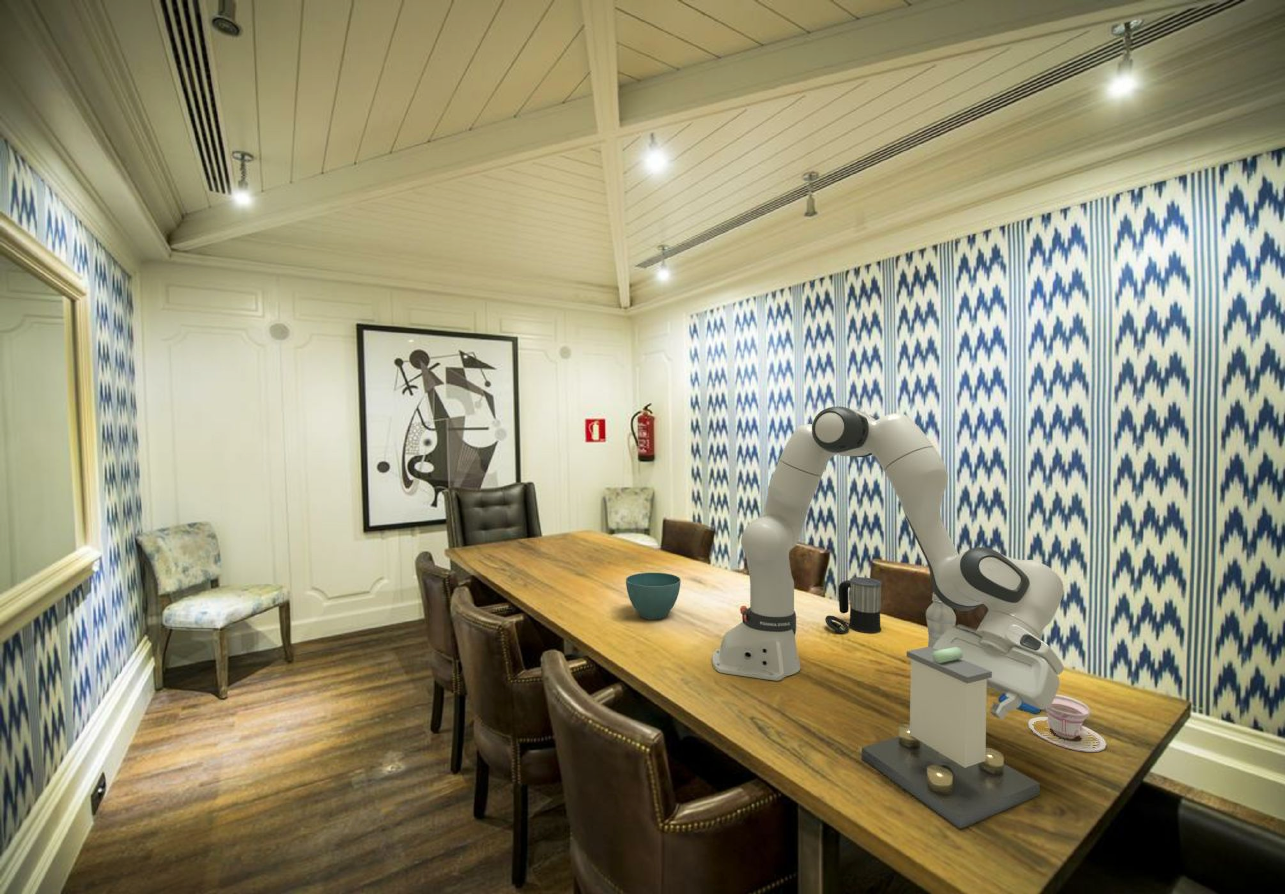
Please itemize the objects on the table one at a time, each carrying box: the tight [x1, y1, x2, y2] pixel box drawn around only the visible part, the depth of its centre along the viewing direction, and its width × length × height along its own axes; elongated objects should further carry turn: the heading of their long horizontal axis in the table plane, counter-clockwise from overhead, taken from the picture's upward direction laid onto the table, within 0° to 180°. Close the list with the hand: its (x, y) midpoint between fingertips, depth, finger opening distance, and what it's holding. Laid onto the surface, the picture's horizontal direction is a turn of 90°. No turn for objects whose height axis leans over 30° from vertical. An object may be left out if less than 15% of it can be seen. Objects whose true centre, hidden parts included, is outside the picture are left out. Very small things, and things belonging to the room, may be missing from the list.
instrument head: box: [906, 646, 992, 768], centre depth 91 cm, size 6×11×20 cm, turn 23°
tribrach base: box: [861, 723, 1041, 830], centre depth 91 cm, size 19×19×4 cm
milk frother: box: [824, 576, 883, 634], centre depth 161 cm, size 14×16×15 cm
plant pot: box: [625, 572, 682, 621], centre depth 174 cm, size 18×18×12 cm
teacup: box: [1027, 694, 1107, 753], centre depth 103 cm, size 12×12×6 cm
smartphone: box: [998, 693, 1042, 715], centre depth 118 cm, size 7×1×15 cm
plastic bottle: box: [925, 591, 957, 648], centre depth 130 cm, size 6×7×20 cm
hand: (969, 702), depth 93 cm, fingers open, 8 cm apart
